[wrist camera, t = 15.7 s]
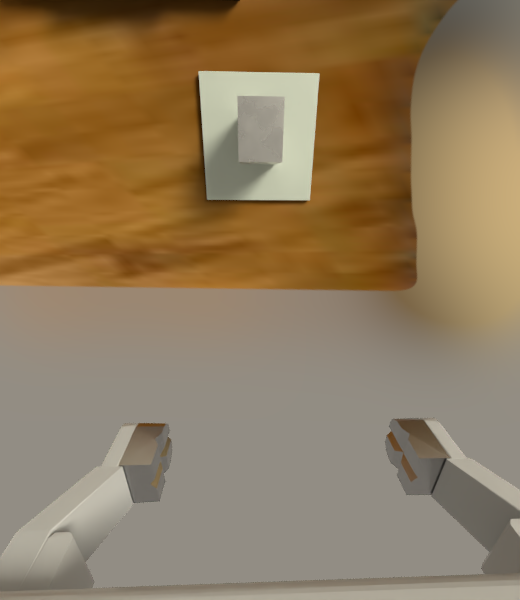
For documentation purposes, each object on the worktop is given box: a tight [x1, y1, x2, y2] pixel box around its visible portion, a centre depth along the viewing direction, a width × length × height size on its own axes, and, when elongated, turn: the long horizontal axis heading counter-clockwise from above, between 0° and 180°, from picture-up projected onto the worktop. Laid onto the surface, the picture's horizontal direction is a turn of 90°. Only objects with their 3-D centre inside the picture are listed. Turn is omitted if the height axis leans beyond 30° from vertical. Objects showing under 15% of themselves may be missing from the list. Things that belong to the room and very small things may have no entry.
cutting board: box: [199, 71, 319, 200], centre depth 33 cm, size 13×13×1 cm
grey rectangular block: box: [237, 96, 285, 165], centre depth 29 cm, size 4×5×9 cm
